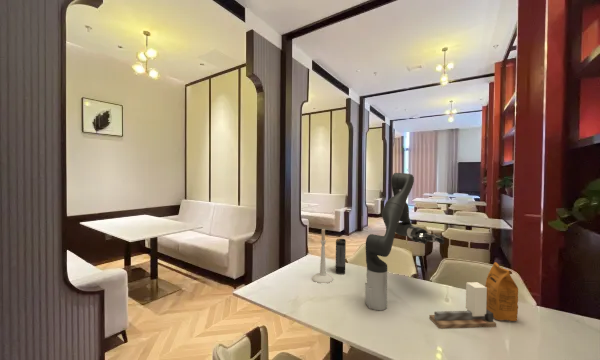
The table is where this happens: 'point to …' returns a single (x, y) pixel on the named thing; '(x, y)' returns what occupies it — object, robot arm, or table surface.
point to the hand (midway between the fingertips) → (434, 241)
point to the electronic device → (340, 256)
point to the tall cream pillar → (476, 298)
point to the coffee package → (501, 294)
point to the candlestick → (322, 265)
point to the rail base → (461, 319)
